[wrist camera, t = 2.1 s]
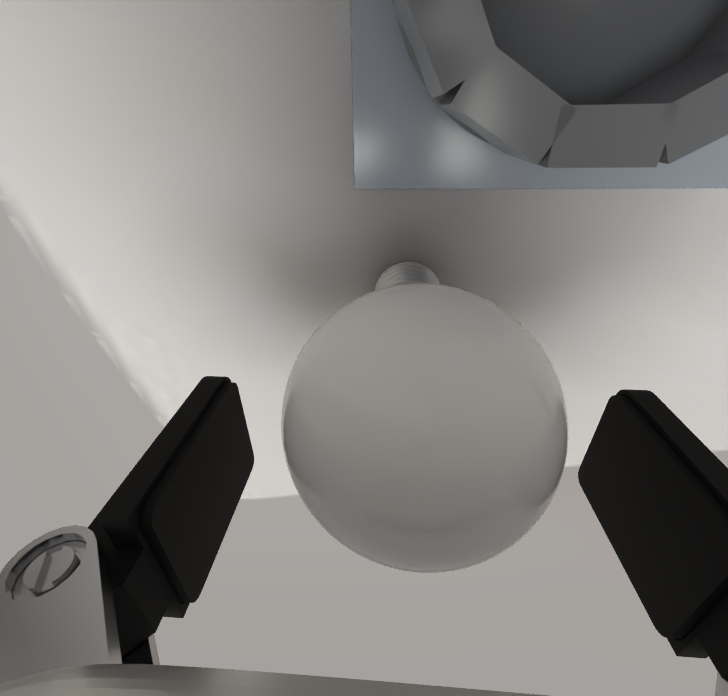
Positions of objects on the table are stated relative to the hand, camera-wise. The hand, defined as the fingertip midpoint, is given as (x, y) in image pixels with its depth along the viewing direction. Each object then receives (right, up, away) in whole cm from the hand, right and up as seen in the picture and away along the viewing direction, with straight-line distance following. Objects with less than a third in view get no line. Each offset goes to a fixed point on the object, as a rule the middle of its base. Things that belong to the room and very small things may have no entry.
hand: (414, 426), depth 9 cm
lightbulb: (0, +5, +6) cm, 8 cm away
